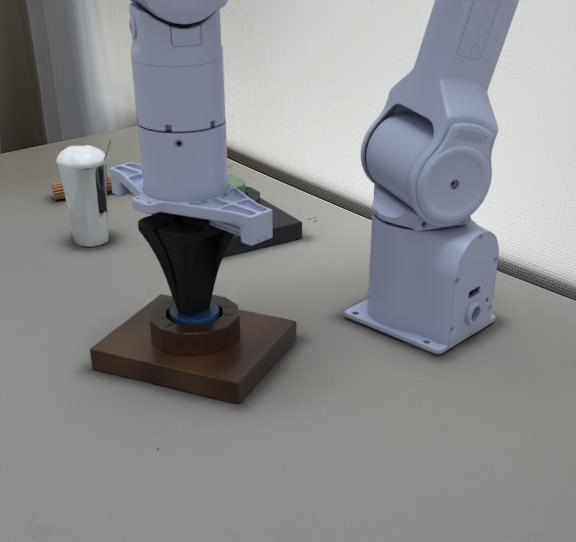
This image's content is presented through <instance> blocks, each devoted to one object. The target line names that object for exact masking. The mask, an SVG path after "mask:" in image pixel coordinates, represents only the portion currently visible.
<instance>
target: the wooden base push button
mask: <svg viewBox="0 0 576 542" xmlns="http://www.w3.org/2000/svg"><path fill="white" fill-rule="evenodd" d="M211 301H212V302H214V303H215V304H217V305H218V307H219V319H218V320H217V321H215V322H212V323H209V324H206V325H203V326H184V325H179V324H174V323H173V322H171V321H170V308H171V307H172V306H173V305H174V304H175V302H174V300H173V297H172V295H168V294H164V293H161V294H159V295H157V296H156V297H155V298H154V299H152V300H151V301H150V302H149V303H147V304H146V305H145V306H143V307H142V308H140V309H139V310H138V311H137V312H135V313H134V314H133V315H131V316H130V317H128V319H127V320H125V321H124V322H123V323H121V324H120V325H118V326H117V327H116V328H114V329H113V330H112V331H111V332H110V333H108V334H107V335H106V336H104V337H103V338H102V339H100V340H99V341H97V342H96V343H95V344H94V345H92V346H91V347H90V348H89V354H90V362H91V368H92V370H97V371H100V372H104V373H109V374H111V375H112V374H113V375H117V376H122V377H126V378H129V379H134V380H137V381H142V382H146V383H150V384H155V385H159V386H163V387H168V388H171V389H174V390H175V389H176V390H180V391H184V392H187V393H193V394H196V395H200V396H205V397H207V398H213V399H217V400H220V401H224V402H231V403H232V404H233V403H234V404H237V405H239V404H240V403H241V402H242V401H243V400H244V399H245V398H246V397H247V396H248V394H249V393H250V392H252V390H253V389H255V387H256V386H257V384H258V383H259V382H260V381H261V380H262V379H263V378H265V376H266V375H267V373H268V372H269V371H270V370H271V369H272V368H273V367H274V366H275V365H276V363H278V361H279V360H280V359H281V358H282V357H283V356H284V354H286V352H288V350H289V349H290V348H291V347H292V346H293V345H294V344H295V343H296V341H297V320H294V319H288V318H284V317H278V316H275V315H270V314H269V315H268V314H264V313H258V312H253V311H248V310H244V309H239V305H238V304H237V303H235V302H234V301H233V300H231V299H229V298H227V297H226V296H222V295H216V294H212V299H211Z"/></svg>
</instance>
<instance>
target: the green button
mask: <svg viewBox="0 0 576 542" xmlns="http://www.w3.org/2000/svg"><path fill="white" fill-rule="evenodd" d="M228 182H229V183H231V184H232V185H233V186H235V187H236V188H237V189H239V190H240V191H241V192H243V193H244V194H245V186H246V181H245V179H243V178H241V177H238V176H229V175H228Z"/></svg>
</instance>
